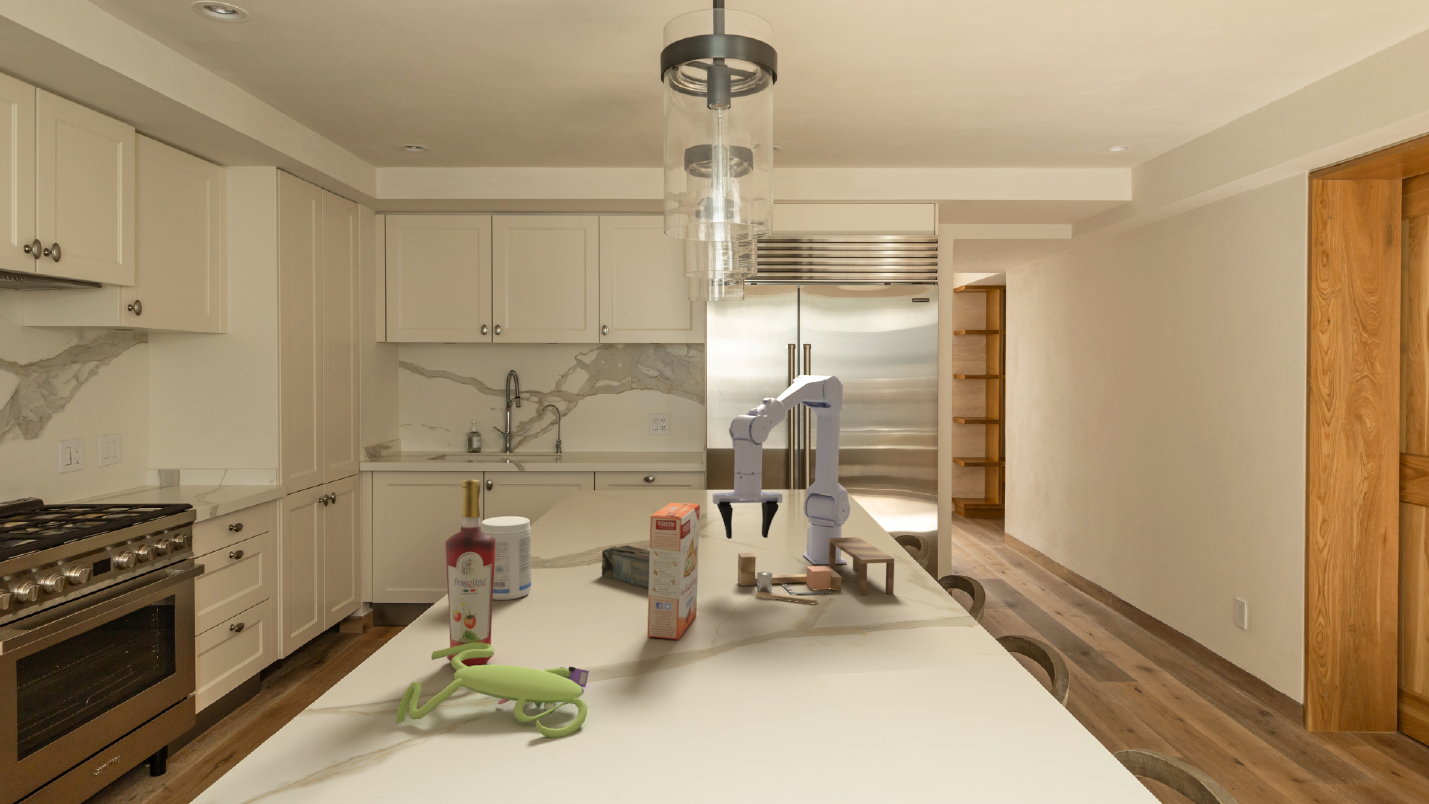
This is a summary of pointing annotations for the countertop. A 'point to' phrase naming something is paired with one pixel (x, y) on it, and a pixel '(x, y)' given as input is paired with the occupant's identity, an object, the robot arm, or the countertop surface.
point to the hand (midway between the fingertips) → (746, 537)
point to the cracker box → (673, 569)
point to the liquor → (470, 577)
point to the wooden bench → (862, 559)
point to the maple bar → (785, 597)
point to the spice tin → (764, 581)
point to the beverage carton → (626, 565)
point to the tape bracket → (802, 592)
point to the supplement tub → (510, 556)
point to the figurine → (506, 687)
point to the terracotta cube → (818, 577)
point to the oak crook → (748, 575)
